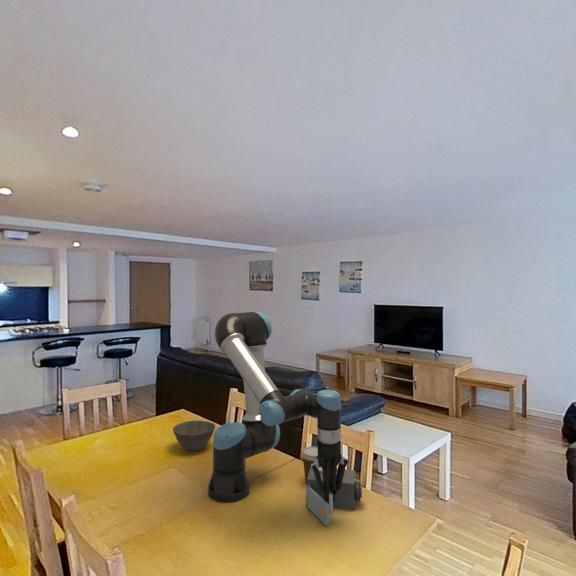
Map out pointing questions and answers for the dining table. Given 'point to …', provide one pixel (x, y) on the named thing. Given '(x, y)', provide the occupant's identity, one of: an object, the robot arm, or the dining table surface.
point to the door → (317, 505)
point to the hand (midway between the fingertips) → (329, 512)
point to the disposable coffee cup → (309, 459)
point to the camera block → (346, 494)
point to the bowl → (194, 434)
